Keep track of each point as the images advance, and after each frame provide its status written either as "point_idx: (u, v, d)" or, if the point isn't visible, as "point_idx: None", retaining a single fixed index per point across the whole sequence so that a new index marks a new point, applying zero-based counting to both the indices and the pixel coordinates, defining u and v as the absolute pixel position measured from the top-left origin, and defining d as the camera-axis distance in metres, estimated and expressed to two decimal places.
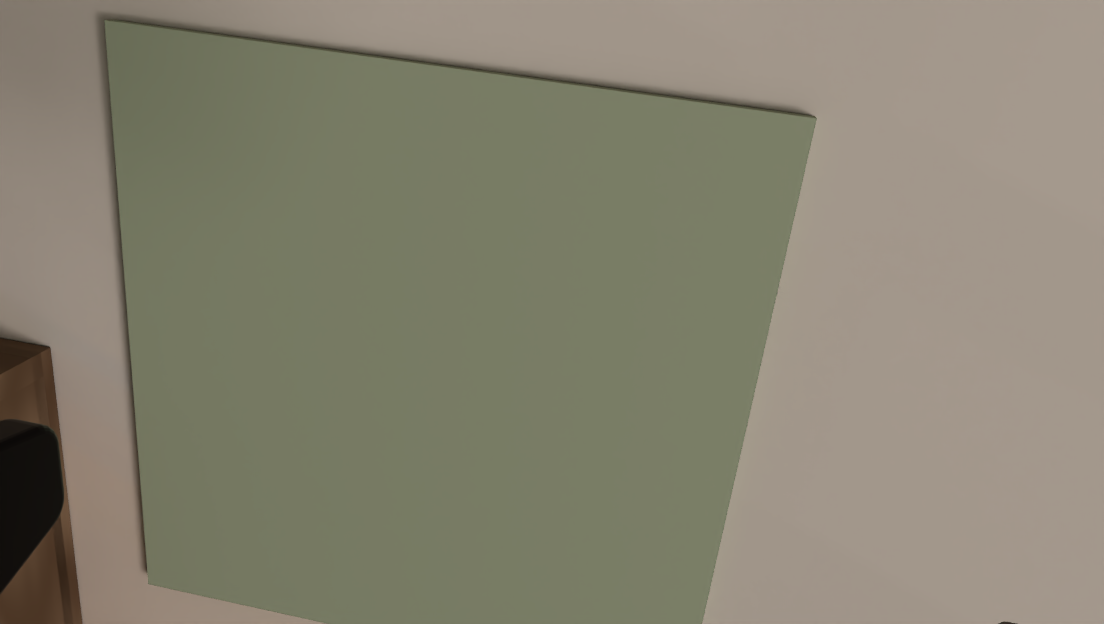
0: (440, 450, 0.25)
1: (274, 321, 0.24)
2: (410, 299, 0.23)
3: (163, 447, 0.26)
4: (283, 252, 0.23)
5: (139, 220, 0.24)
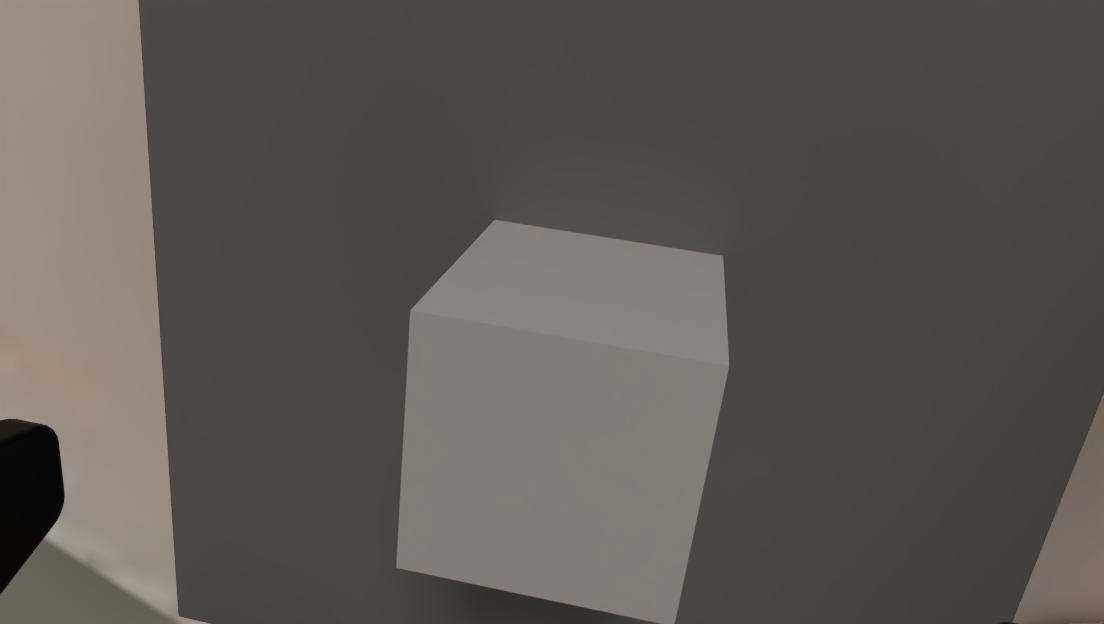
0: None
1: None
2: None
3: None
4: None
5: None
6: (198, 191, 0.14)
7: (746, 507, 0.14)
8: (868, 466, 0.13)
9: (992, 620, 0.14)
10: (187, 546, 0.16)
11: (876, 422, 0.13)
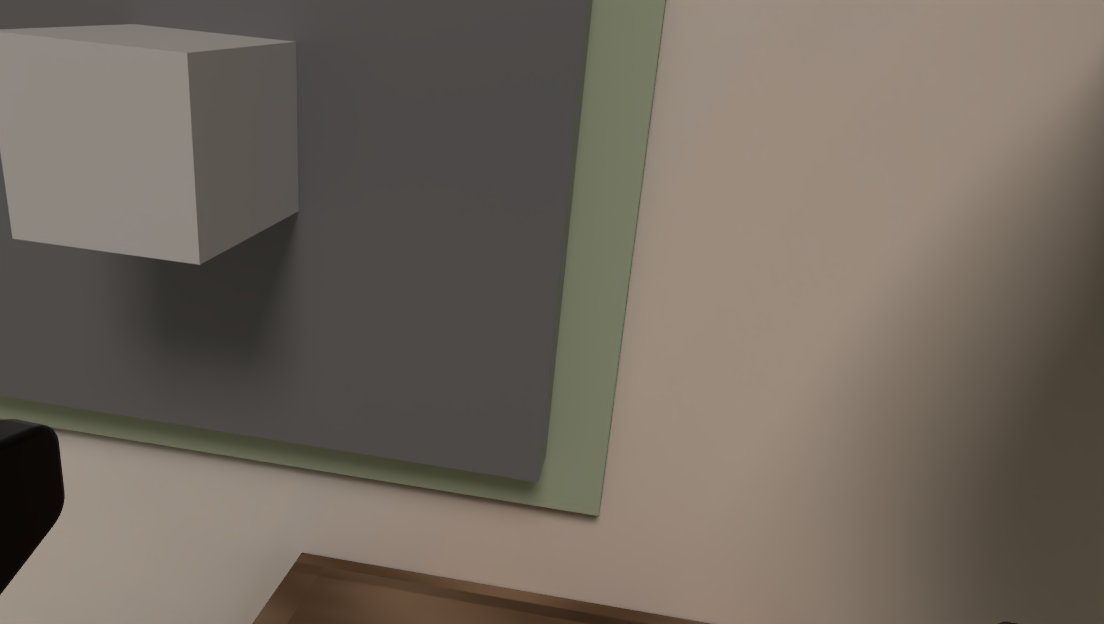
0: None
1: None
2: None
3: None
4: None
5: (121, 418, 0.22)
6: None
7: (350, 249, 0.18)
8: (428, 207, 0.18)
9: (539, 329, 0.18)
10: None
11: (426, 169, 0.18)
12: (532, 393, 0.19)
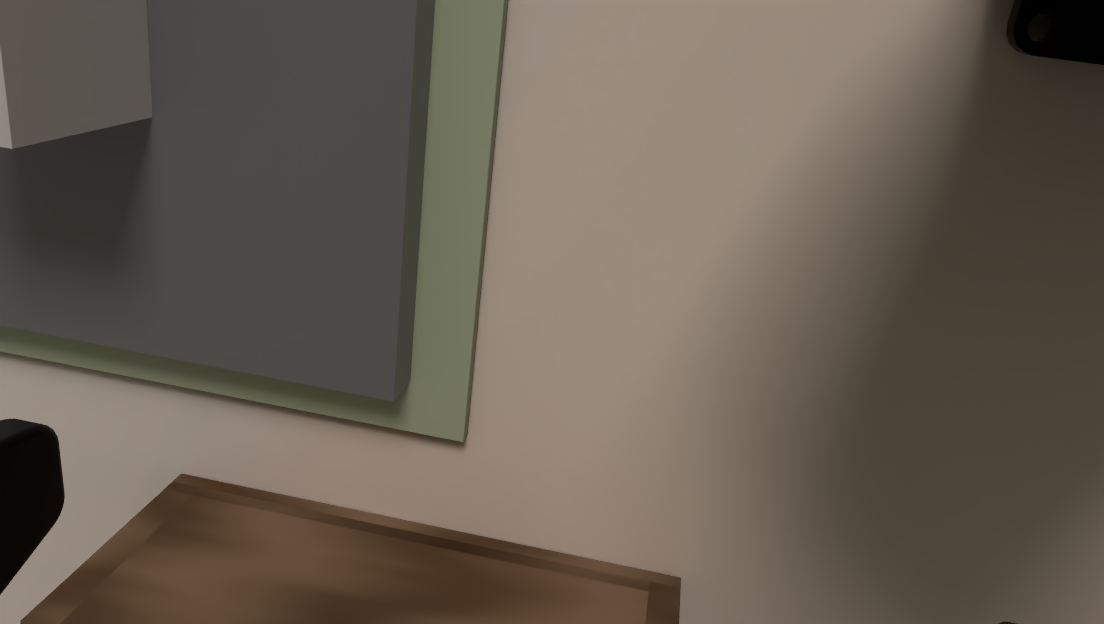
0: None
1: None
2: None
3: None
4: None
5: (0, 331, 0.22)
6: None
7: (204, 157, 0.18)
8: (277, 115, 0.18)
9: (389, 244, 0.18)
10: None
11: (274, 76, 0.17)
12: (385, 310, 0.19)
